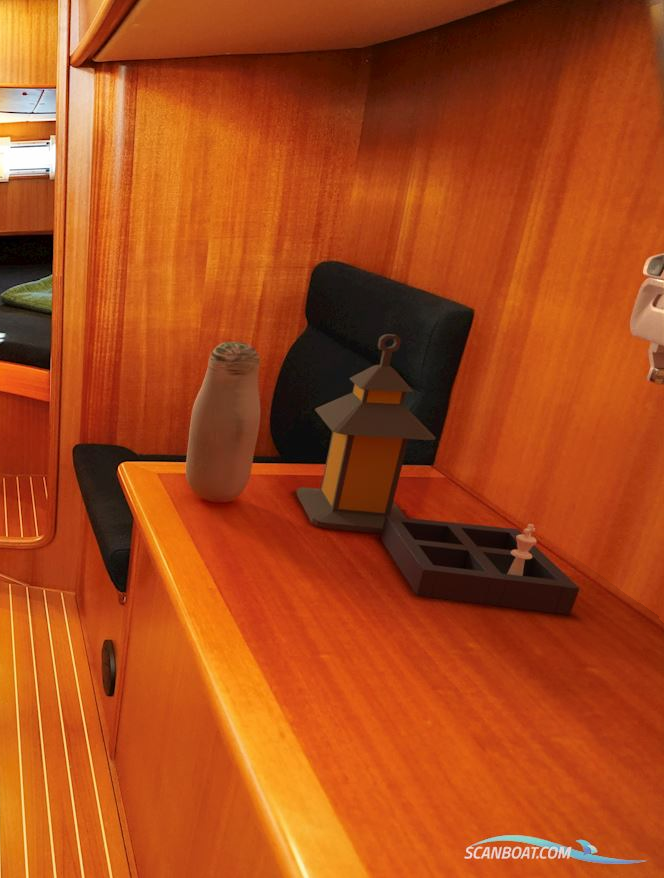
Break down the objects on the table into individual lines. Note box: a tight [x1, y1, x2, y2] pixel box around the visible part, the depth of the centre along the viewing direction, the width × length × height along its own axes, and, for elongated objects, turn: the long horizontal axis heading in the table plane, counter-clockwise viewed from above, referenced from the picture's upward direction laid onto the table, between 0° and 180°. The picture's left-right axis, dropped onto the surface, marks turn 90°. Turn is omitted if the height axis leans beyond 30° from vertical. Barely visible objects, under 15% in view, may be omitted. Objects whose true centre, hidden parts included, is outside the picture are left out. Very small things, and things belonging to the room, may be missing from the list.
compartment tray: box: [379, 516, 580, 616], centre depth 97 cm, size 16×16×4 cm
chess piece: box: [507, 523, 538, 576], centre depth 92 cm, size 5×5×10 cm
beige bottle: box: [185, 341, 261, 504], centre depth 118 cm, size 10×10×28 cm
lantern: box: [296, 333, 437, 535], centre depth 111 cm, size 14×14×30 cm
